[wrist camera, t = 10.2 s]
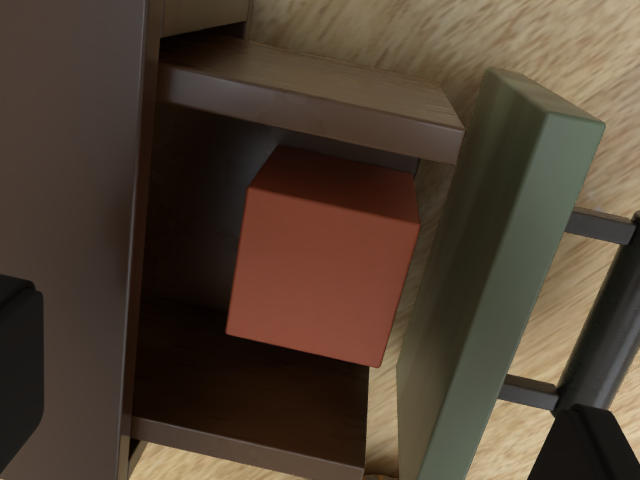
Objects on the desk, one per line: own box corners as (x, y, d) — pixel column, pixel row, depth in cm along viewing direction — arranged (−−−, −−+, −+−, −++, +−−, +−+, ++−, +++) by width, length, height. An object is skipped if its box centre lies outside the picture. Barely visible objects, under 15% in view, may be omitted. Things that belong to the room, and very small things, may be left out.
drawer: (665, 104, 18) (836, 172, 11) (537, 398, 22) (602, 572, 16) (96, -18, 18) (-76, -25, 11) (86, 297, 23) (-40, 425, 16)
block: (277, 143, 18) (246, 186, 14) (413, 173, 18) (422, 224, 14) (256, 266, 20) (223, 335, 16) (381, 293, 20) (379, 370, 16)
